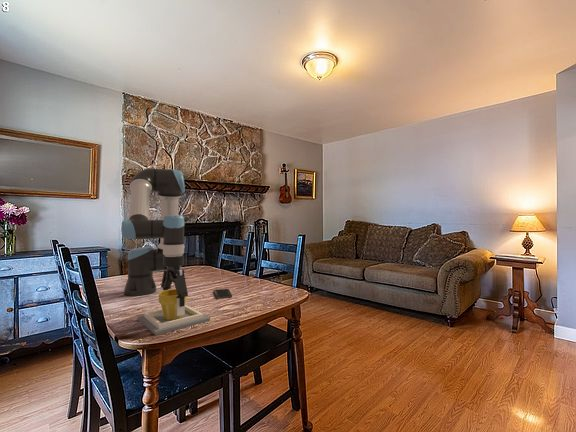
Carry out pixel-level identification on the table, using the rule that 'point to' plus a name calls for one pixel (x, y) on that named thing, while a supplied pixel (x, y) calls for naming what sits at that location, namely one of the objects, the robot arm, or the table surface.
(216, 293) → the phone
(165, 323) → the board
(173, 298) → the plant pot
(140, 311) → the table surface
